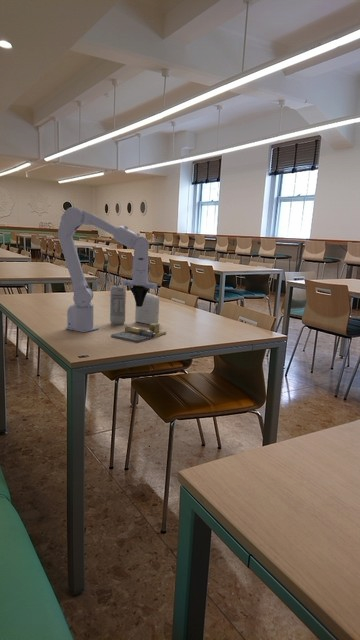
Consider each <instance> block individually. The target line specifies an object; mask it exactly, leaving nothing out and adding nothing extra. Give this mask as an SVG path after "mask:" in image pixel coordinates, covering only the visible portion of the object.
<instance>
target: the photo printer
mask: <svg viewBox="0 0 360 640" xmlns="http://www.w3.org/2000/svg"><path fill="white" fill-rule="evenodd" d="M159 311H160V297H158V296H157V295H154V294H151V293H147V294H146V296H145V299H144V302H143V305H142V306H141V307H137V306H136V305H135V312H134V313H135V315H134V320H135V322H136V323H140V324H145V325H146V324H147V325H149V324H152V323H157V324H159V313H160V312H159Z"/></svg>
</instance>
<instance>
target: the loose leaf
mask: <svg viewBox="0 0 360 640" xmlns="http://www.w3.org/2000/svg"><path fill="white" fill-rule="evenodd" d="M140 330H147V331H152V332H154V333H155V334H156V336H155V337H154V338H157V337H160V336H163V335H166V334H167V331H165V330H160V323H158V324H157V323H152V324H148V327H144V326H138V327H133V326H127V325H126V326H125V327H124V332H129V333H134V334H140Z"/></svg>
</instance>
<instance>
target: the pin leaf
mask: <svg viewBox="0 0 360 640" xmlns="http://www.w3.org/2000/svg"><path fill="white" fill-rule="evenodd" d="M155 336H156V334H155V333H154V332H152V331H147V330H140V334H134V333H129V332H125V330H124V331H121V332H116V333H113V334H110V337H111V338H115V339H119V340H124V341H129V342H133V343H137V344H138V343H142V342H145V341H148V340H151V339H154V338H156V337H155Z"/></svg>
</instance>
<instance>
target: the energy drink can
mask: <svg viewBox="0 0 360 640" xmlns="http://www.w3.org/2000/svg"><path fill="white" fill-rule="evenodd" d="M126 293H127V291H126V289H125V286H124V285H123V286H122V285H115V286H114V285H113V286H111V289H110V300H109V301H110V303H109V304H110V305H109V309H110V310H109V313H110V314H109V322H110V323H111V325H115V326H119V325H120V326H121V325H122V326H123V325H124V324H125V322H126V297H127V295H126Z"/></svg>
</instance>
